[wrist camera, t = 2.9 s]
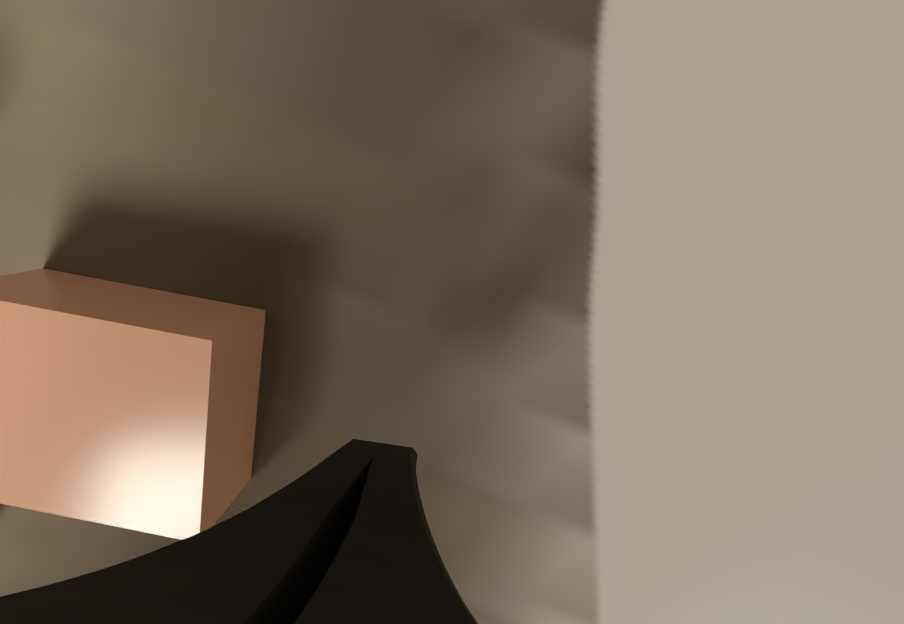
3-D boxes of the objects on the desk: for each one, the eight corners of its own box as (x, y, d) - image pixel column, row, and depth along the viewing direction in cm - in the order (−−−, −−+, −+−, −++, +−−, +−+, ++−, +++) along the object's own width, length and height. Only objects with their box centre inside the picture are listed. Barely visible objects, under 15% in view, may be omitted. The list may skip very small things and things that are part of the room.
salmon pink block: (254, 473, 15) (199, 542, 12) (53, 434, 15) (-49, 493, 12) (269, 307, 14) (212, 340, 11) (50, 267, 14) (-64, 288, 11)
